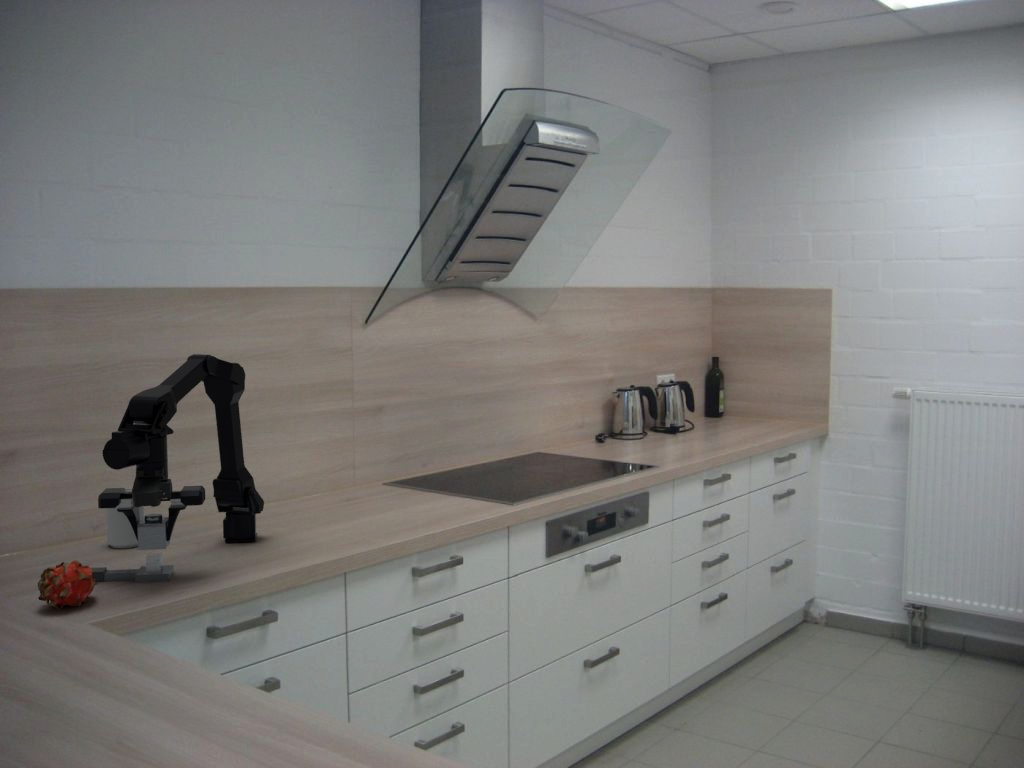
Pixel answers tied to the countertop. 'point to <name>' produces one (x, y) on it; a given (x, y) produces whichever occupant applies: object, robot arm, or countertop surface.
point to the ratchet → (138, 571)
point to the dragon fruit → (66, 584)
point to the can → (121, 528)
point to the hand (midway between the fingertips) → (154, 541)
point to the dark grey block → (152, 532)
